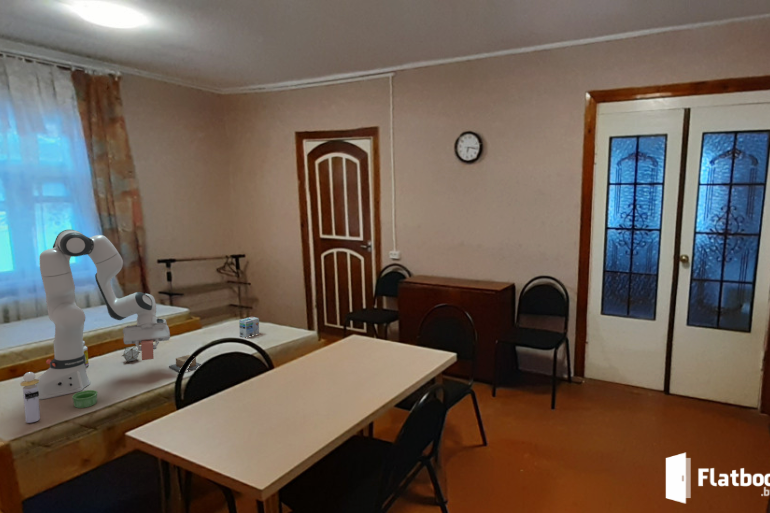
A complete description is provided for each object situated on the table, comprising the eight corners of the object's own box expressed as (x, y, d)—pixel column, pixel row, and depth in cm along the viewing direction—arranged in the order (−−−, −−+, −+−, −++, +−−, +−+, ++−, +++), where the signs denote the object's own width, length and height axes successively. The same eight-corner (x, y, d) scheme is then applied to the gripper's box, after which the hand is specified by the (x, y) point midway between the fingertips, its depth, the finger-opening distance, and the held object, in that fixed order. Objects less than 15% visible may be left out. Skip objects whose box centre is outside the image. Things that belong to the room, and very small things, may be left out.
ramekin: (101, 404, 201) (100, 394, 200) (76, 411, 194) (76, 400, 194) (94, 397, 207) (93, 388, 206) (70, 404, 200) (69, 394, 199)
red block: (141, 360, 225) (141, 343, 224) (141, 357, 229) (141, 340, 228) (153, 358, 227) (153, 342, 226) (153, 355, 232) (153, 339, 231)
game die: (127, 368, 250) (114, 354, 249) (140, 358, 257) (127, 344, 256) (134, 363, 246) (121, 349, 244) (147, 353, 252) (134, 339, 251)
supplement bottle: (91, 365, 244) (89, 341, 242) (78, 369, 238) (76, 345, 236) (83, 363, 247) (81, 339, 245) (70, 367, 241) (68, 343, 239)
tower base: (180, 373, 235) (180, 363, 234) (168, 367, 242) (168, 358, 242) (203, 367, 244) (203, 357, 244) (191, 361, 252) (190, 352, 251)
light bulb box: (246, 338, 292) (246, 321, 291) (239, 336, 296) (238, 319, 295) (259, 334, 301) (259, 317, 300) (252, 332, 305) (252, 316, 304)
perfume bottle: (22, 421, 184) (17, 372, 182) (40, 416, 188) (36, 368, 186) (25, 426, 180) (21, 376, 178) (44, 421, 185) (39, 372, 182)
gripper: (122, 323, 228) (122, 348, 220) (169, 319, 237) (170, 344, 229) (123, 329, 232) (123, 355, 225) (169, 325, 241) (170, 350, 234)
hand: (147, 349), depth 227 cm, fingers closed on red block, 5 cm apart
